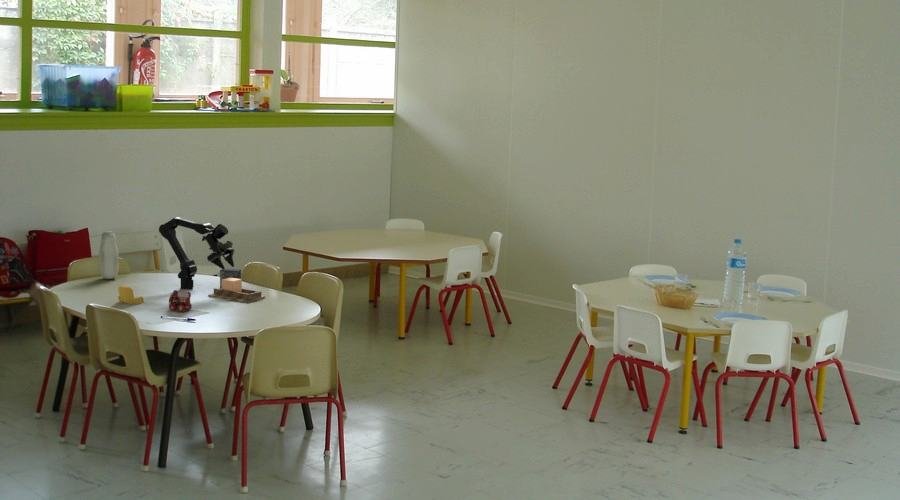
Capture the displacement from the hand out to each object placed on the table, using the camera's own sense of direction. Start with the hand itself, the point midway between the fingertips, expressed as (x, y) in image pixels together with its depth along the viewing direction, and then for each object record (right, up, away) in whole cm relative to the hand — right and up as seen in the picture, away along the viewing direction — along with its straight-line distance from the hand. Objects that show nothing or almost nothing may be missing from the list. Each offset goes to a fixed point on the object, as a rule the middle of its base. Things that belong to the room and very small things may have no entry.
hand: (228, 267), depth 538 cm
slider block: (+3, -14, -5) cm, 15 cm away
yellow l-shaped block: (-44, -18, -28) cm, 55 cm away
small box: (-3, -12, +18) cm, 21 cm away
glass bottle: (-76, -7, +31) cm, 82 cm away
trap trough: (+6, -16, -7) cm, 18 cm away
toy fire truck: (-15, -21, -43) cm, 50 cm away
